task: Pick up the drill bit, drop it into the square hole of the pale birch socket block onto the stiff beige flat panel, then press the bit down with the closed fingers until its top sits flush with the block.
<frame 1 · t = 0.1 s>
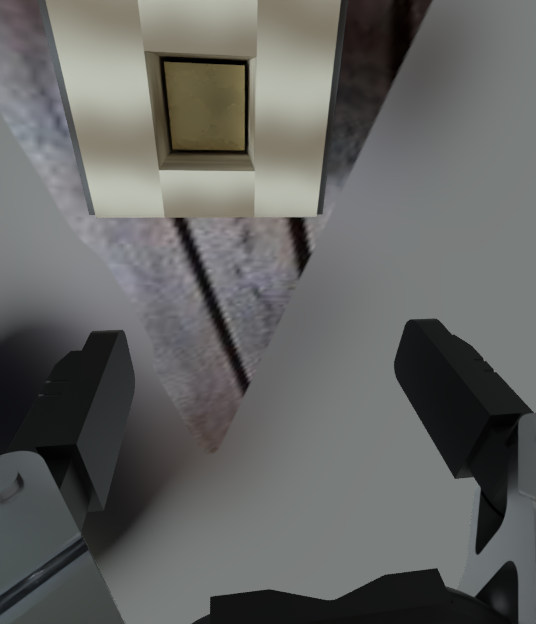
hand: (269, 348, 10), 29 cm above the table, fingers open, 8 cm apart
socket block: (208, 104, 32), on the table
beige flat panel: (207, 108, 28), point 5 cm above the table, slide at 0.0 cm
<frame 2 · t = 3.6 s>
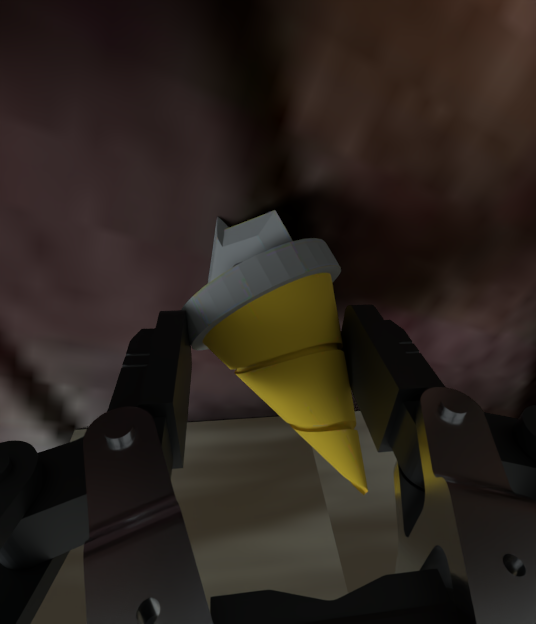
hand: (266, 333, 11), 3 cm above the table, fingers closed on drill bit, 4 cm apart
socket block: (241, 490, 22), on the table
drill bit: (277, 276, 14), on the table, touching gripper
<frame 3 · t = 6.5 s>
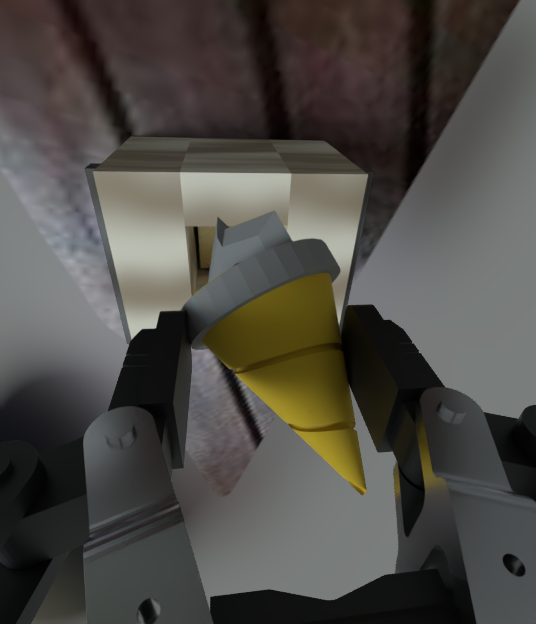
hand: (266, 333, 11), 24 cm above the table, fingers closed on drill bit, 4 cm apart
socket block: (232, 214, 34), on the table
beige flat panel: (234, 233, 30), point 4 cm above the table, slide at 0.0 cm
drill bit: (277, 276, 14), point 21 cm above the table, touching gripper
when the fingers open (12 cm above the table, at t = 9.5 s): drill bit moves 1 cm, resting on socket block.
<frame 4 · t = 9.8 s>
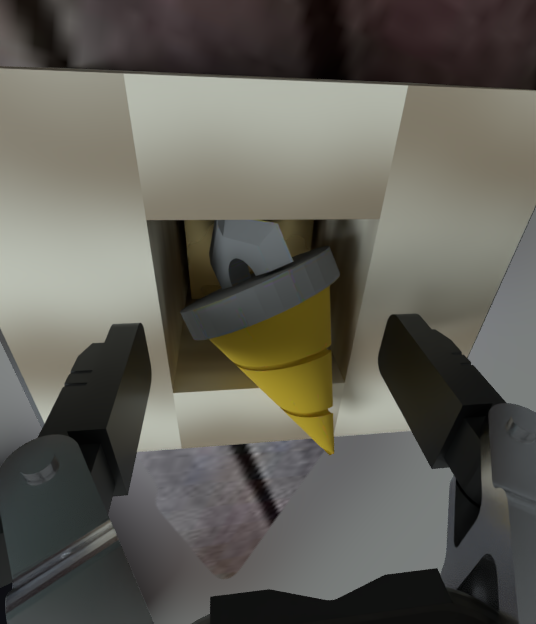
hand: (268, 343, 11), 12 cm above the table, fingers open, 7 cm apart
socket block: (243, 209, 21), on the table
beige flat panel: (249, 239, 17), point 4 cm above the table, slide at 0.0 cm
drill bit: (279, 247, 14), point 8 cm above the table, touching socket block
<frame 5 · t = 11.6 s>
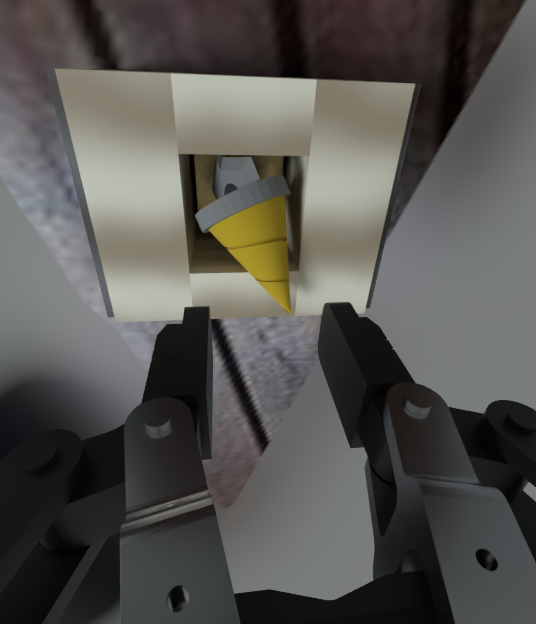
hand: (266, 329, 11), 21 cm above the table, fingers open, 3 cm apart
socket block: (236, 172, 29), on the table
beige flat panel: (239, 187, 25), point 4 cm above the table, slide at 0.0 cm
drill bit: (257, 185, 22), point 8 cm above the table, touching socket block
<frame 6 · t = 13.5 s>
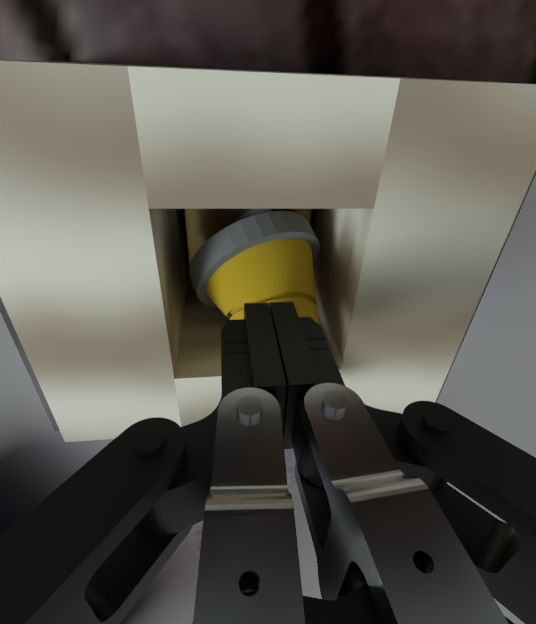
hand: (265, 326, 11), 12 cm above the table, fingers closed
socket block: (243, 202, 21), on the table
beige flat panel: (248, 231, 17), point 4 cm above the table, slide at 0.0 cm
drill bit: (279, 255, 17), point 6 cm above the table
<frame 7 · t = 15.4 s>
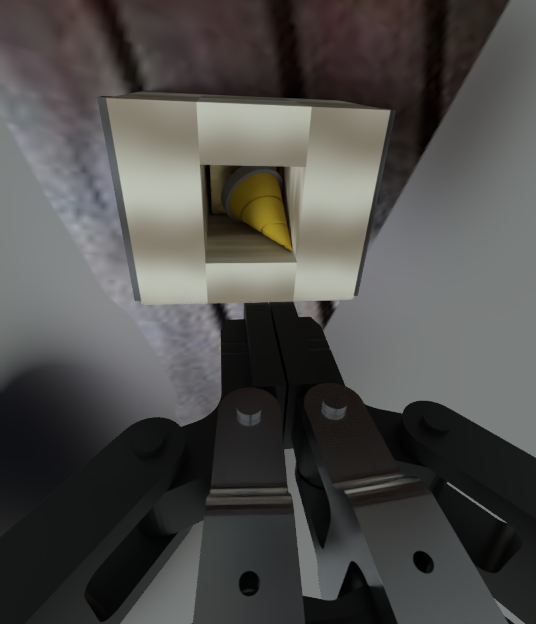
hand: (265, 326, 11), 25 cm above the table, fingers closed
socket block: (242, 178, 33), on the table
beige flat panel: (243, 180, 32), resting in socket block, slide at 4.1 cm, touching drill bit
drill bit: (262, 198, 33), point 1 cm above the table, touching beige flat panel, socket block
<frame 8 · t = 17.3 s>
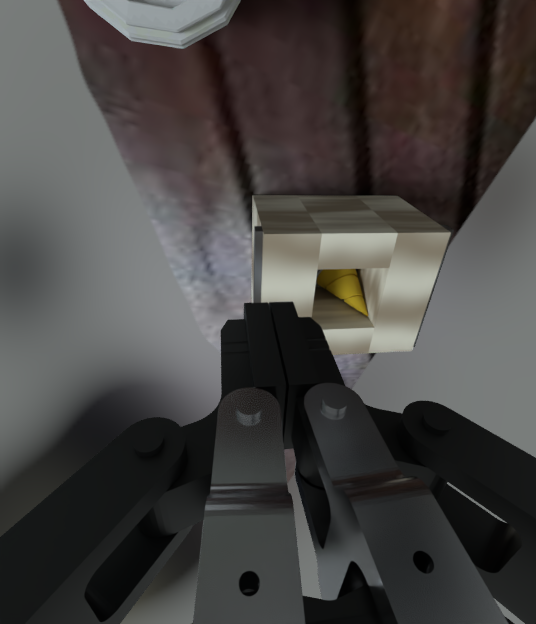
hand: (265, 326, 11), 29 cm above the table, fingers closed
socket block: (319, 251, 42), on the table
drill bit: (335, 267, 42), point 1 cm above the table, touching beige flat panel, socket block
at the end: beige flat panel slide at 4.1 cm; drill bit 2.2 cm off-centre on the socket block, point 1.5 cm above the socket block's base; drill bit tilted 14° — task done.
